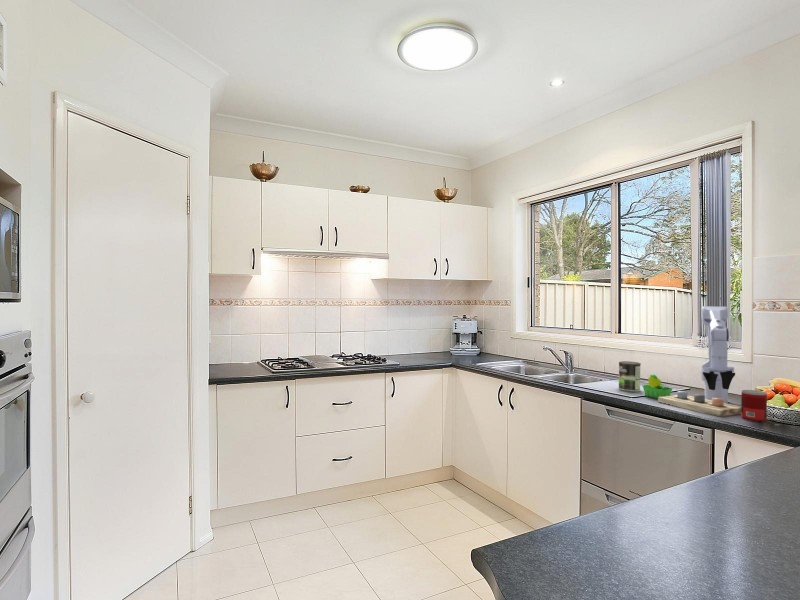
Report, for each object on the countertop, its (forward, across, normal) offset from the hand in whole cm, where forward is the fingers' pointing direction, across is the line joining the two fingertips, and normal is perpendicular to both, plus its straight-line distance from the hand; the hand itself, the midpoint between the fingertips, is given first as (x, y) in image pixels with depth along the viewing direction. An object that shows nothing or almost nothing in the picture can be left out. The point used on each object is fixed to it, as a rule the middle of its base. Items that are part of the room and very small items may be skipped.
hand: (718, 389), depth 198 cm
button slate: (+7, -1, +17) cm, 19 cm away
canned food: (+10, +2, -13) cm, 16 cm away
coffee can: (+9, +1, +50) cm, 51 cm away
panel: (+9, 0, +9) cm, 13 cm away
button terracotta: (+8, +1, +1) cm, 8 cm away
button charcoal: (+8, 0, +9) cm, 12 cm away
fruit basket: (+10, -1, +31) cm, 32 cm away
